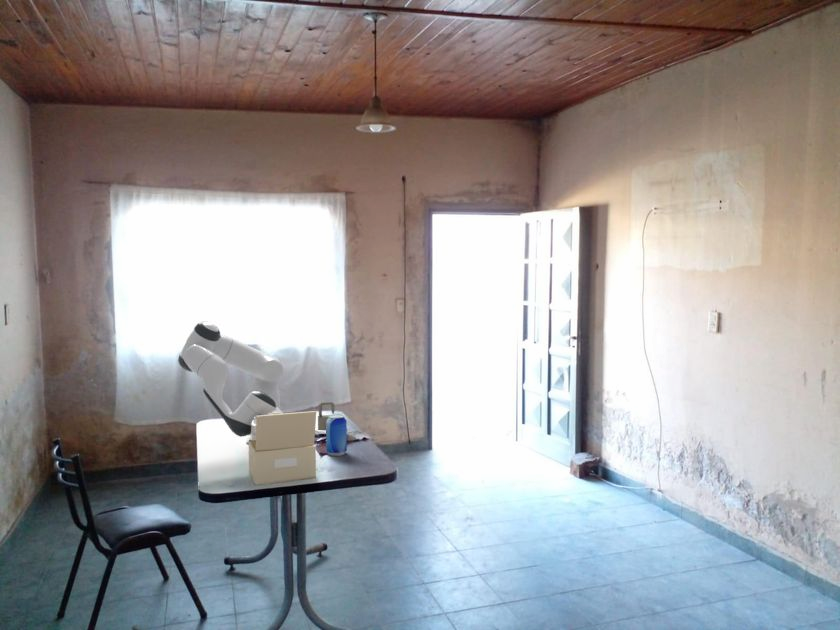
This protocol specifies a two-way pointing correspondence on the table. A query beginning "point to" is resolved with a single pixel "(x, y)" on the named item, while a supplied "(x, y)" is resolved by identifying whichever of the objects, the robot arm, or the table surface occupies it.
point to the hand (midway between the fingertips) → (281, 431)
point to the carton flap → (285, 430)
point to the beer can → (336, 435)
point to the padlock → (323, 418)
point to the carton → (281, 464)
